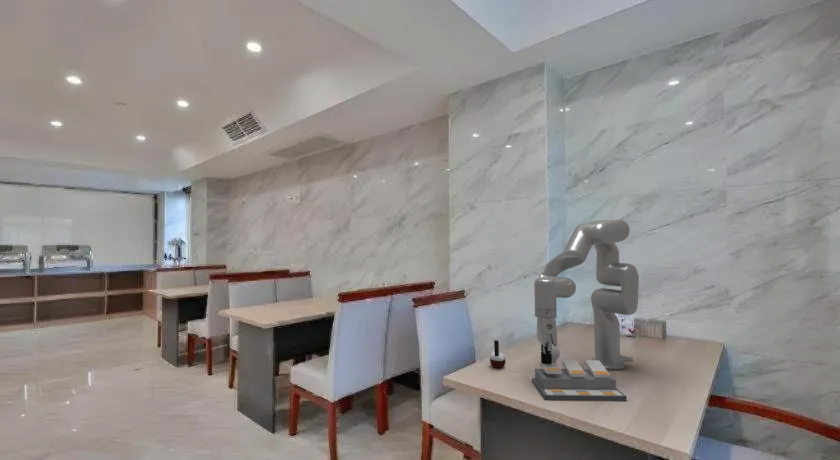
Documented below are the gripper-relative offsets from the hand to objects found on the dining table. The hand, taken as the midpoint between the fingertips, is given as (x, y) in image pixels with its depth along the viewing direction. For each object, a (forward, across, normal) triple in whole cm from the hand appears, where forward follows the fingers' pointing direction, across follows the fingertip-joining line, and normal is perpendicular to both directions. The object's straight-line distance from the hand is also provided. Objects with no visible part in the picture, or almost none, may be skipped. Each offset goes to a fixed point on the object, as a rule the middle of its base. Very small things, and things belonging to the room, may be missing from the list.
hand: (546, 363), depth 138 cm
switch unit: (+7, -6, -8) cm, 13 cm away
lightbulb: (+7, +12, -5) cm, 15 cm away
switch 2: (+1, -4, -8) cm, 9 cm away
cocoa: (+8, +17, +15) cm, 24 cm away
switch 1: (+1, -4, 0) cm, 4 cm away
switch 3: (+1, -4, -16) cm, 17 cm away
